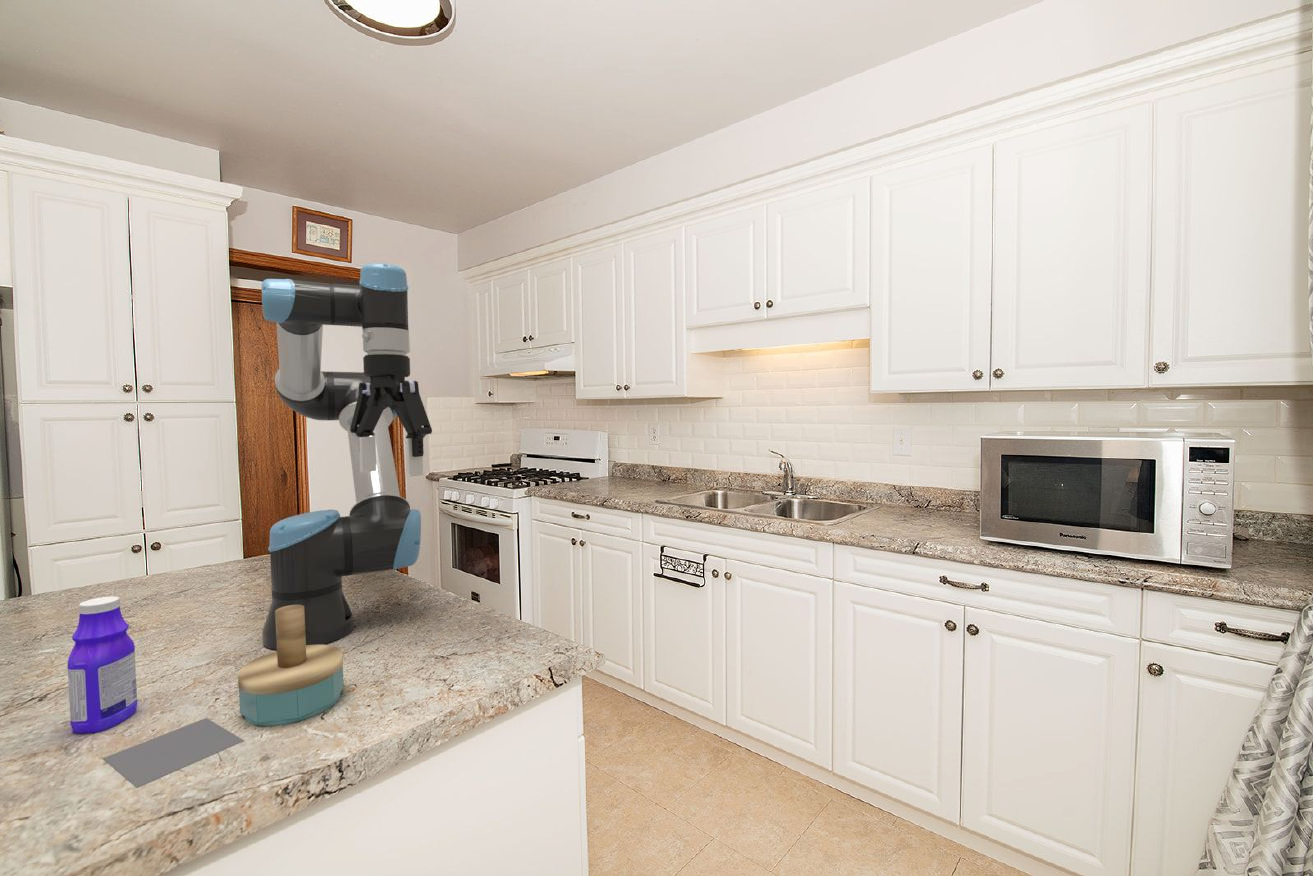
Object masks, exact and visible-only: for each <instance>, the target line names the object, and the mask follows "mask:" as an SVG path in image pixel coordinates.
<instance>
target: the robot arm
mask: <svg viewBox="0 0 1313 876" xmlns="http://www.w3.org/2000/svg"><path fill="white" fill-rule="evenodd" d="M359 273H360V274H359V277H360V279H359V285H353V284H352V285H351V284H340V283H328V282H327V283H326V282H317V281H305V280H299V279H297V280H295V279H291V278H285V279H284V278H283V279H282V278H265V279H264V280H263V281H262V282H261V302H262V303H261V304H262V306H261V307H262V315H263V319H264V320H266V321H267V322H272V323H276V338H277V350H278V351H277V354H278V367H279V369H278V370H276V373H275V375H274V388H275V390H276V394H277V395H278V397H279V399H280V400H281V401H282V402H283V403H284V404H285V405H286V406H287V407H288V408H289V409H290V410H293V412H295V413H296V414H298V415H301V416H303V417H304V418H307V419H311V420H314V421H315V420H316V421H338V423H339V425H340V427H341V428H343V430H345V431H346V432H347V436H348V437H347V438H348V444H349V454H350V460H351V461H350V463H351V469H352V479H353V486H354V495H355V503H354V505H352V507H351V509H350V511H349V514H348V515H347V516H341V514H340V512H339V510H337V509H325V510H324V509H323V510H315V511H309V512H304V513H301V514H300V513H299V514H296V515H293V516H289V517H286V518H284V519H281V520H279V521H277V522H276V523H274V524H273V525H272V526H271V528H270V530H269V546H268V549H267V550H268V552H269V555H270V557H269V559H270V579H271V580H270V581H271V583H270V584H271V585H270V587H271V588H270V589H271V602H270V606H269V608H268V613H267V615H266V619H265V622H264V625H263V628H262V633H261V635H262V645H263V646H264V647H265V648H266V649H267V648H268V649H270V650H275V651H277V641H276V620H275V610H277V609H279V608H281V607H284V606H289V605H303V606H304V613H305V635H306V645H327V644H329V643H331V642H335V641H338V640H339V639H342V638H344V637H345V636H347V635H349V634H350V633H351V632H352V631H353V630H354V626H355V624H354V615H353V612H352V610H351V608H350V606H349V603H348V600H347V598H346V595H345V594H344V591H343V579H342V578H343V577H348V576H356V575H363V574H369V573H377V572H383V571H391V570H393V571H396V570H397V569H402V568H407V567H412V566H413V565H415V564H416V563H417V561H418V559H419V557H420V556H419V555H420V549H421V541H422V540H421V539H422V538H421V537H422V517H421V515H422V514H421V512H420V510H419V509H414V508H412V509H411V506H410V504H409V501H408V500H407V499H406V498H404V497H403V496H401V493H400V487H399V483H398V478H397V477H398V476H397V471H396V465H395V460H394V453H393V448H392V442H391V437H390V436H391V435H390V430H389V427H390V425H391V424H392V422H393V420H394V419H396V418H397V417H398V419H399V421H400V423H401V425H402V427H403V428H404V429H405V432H406V433H407V435H406V436H405V461H406V465H405V466H406V477H408V478H411V477H416V476H417V477H418V476H423V475H424V461H423V459H424V458H423V457H424V455H425V454H424V453H425V452H424V438H425V436H427V435H431V434H432V433H433V429H432V425H431V423H430V420H429V417H428V414H427V411H426V408H425V406H424V403H423V400H422V397H421V395H420V390H419V389H420V388H419V382H418V381H416V380H406V378H408V377H410V375H411V361H410V360H411V359H410V357H409V356H408V355H407V354H409V353H410V350H411V346H410V330H409V309H408V308H409V307H408V306H409V305H408V304H409V303H408V299H409V297H408V291H409V286H408V280H407V279H408V278H407V272H406V270H405V269H403V268H402V267H400V266H397V265H394V264H388V263H386V264H385V263H368V264H364V265H363V266H361V268H360V272H359ZM324 325H325V326H338V327H339V326H344V327H356V328H357V327H359V328H362V335H361V337H362V349H363V351H364V353H366V355H364V356H363V357H362V361H363V371H362V372H360V371H358V372H357V371H322V370H321V368H322V353H323V352H322V349H323V348H322V347H323V334H324V333H323V330H324Z"/></svg>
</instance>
